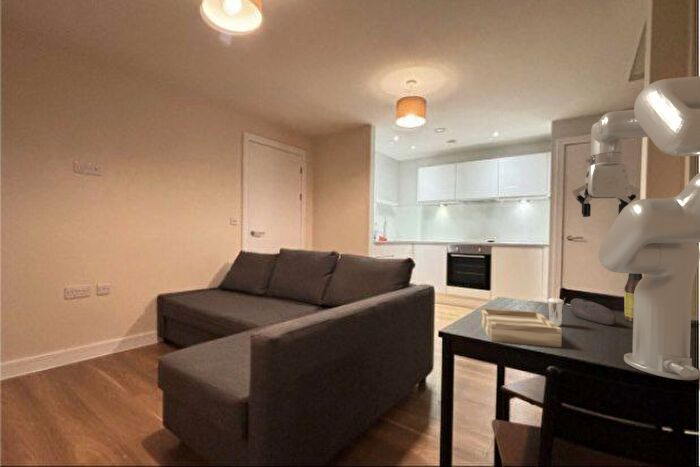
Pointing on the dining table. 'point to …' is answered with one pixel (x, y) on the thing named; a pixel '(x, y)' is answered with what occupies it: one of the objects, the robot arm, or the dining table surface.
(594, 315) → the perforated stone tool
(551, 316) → the milkshake
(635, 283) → the sauce bottle
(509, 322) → the wooden tray
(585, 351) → the dining table surface
